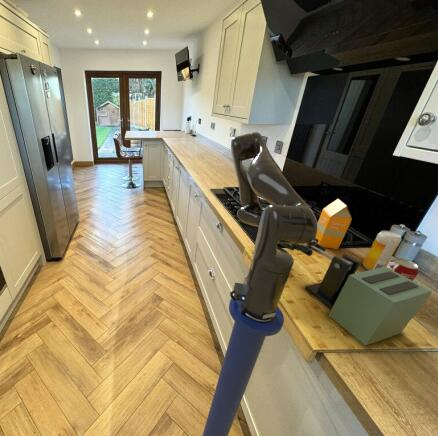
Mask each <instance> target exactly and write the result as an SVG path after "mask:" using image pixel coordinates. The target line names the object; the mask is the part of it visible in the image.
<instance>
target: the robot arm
mask: <svg viewBox="0 0 438 436" xmlns="http://www.w3.org/2000/svg"><path fill="white" fill-rule="evenodd" d="M230 151H231V157H232V162H233V167H234V172H235V176H236V179H237V183H238V191H239V201H240V203H241V204H242V205H244V206H242V207H240V208H238V210H237V212H236V216H237V218H238V220H239V221H241V222H242V223H243V224H246V225H250V226H253V227H256V228H258V230H257V234H256V238H255V241H254V248H253V249H254V250H253V254H252V255H253V256H252V258H251V262H250V266H249V269H248V272H247V275H245V276H244V279H243V282H242V283H239V282H234V285H233V290H231V291H230V292H229V296H230V299H231V298H232V299H233V300H234V301H236V300H239V307H240V312H241V315H244V316H246V317H248V318H249V319H251V320H253V321H255V322H259V323H268V322H270V321H272V319H273V317H274V316H275V314H276V313H275V311H276V308H277V306H278V305H279V303H280V300H281V298H282V295H283V292H284V289H285V288H286V285H287V282H288V280H289V277H290V275H291V274H290V273H291V272H292V269H293V266H294V263H295V260H294V259H295V258H294V257H293V255H292V254H291V253H290V252H289V251H287V250H286V249H288V250H290V251H297V252H298V251H300V252H301V253H303V254H304V255H306V256H307V257H311V256H312V255H313V252H314V251H313V250H311V249H309V248H308V247H306V246H308V245H314V244H317V245H318V247H317V248H318V249H320V250H322V251H324V252H326V250H327V248H326V247H323V246H321V245H319V244H318V241H319V240H318V239H317V238H315V237H316V235H317V230H318V226H317V223H318V220H317V217H316V215H315V213H314V211H313V209H312V208H311V207H310V206H309V205H308V203H307V202H306V201H305V200H304V199H303V198H302V197H301V195H300V194H298V192H296V190H295V189H294V188H293V186H292V185H291V183H290V182H289V180H288V179H287V177H286V176H285V174H284V172H283V170H282V169H281V167H280V166H279V165H278V163H277V162H276V160H275V159H274V157H273V156H272V154H271V153H270V151H269V148H268V147H267V144H266V141H265V139H264V137H263V136H262V134H261V133H260V132H258V131H253V132H248V133H245V134H241V135H237V136H234V137H232V139H231V140H230ZM251 159H252V160H251ZM247 160H251V162H250V164H249V166H248V167H247V170H246V168H245V167H244V165H243V161H247ZM259 197H260V198H261V199H263V200H264V201H266V202H267V203H269V204H268V205H266V206H265V207H264V209H263V207H262V204H261V203H260V200H259ZM278 245H280V246H278ZM281 246H282V247H281ZM283 247H284V248H286V249H284V248H283ZM233 295H235V297H234V296H233ZM278 307H279V306H278Z"/></svg>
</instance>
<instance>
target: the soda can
mask: <svg viewBox="0 0 438 436" xmlns="http://www.w3.org/2000/svg"><path fill="white" fill-rule="evenodd" d="M386 267H387V268H389V269H391V270H393V271H394V272H396V273H398V274H400V275H402V276H404V277H406V278H408V279H410V280H412V281H414V280H415V279H416V278H417V276H418V275H419V270H418V269H419V265H418V264H417V263H415V262H414V261H412V260H409V259H406V258H403V257H394V258H393V259H392V260H389V262H388V263H387V265H386Z"/></svg>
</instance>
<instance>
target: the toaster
mask: <svg viewBox="0 0 438 436" xmlns="http://www.w3.org/2000/svg"><path fill="white" fill-rule="evenodd" d="M432 292H433V291H432V290H431V289H429V288H427V287H425V286H423V285H421V284H419V283H418V282H415V281H414V280H413V281H412V280H410V279H408V278H406V277H404V276H402V275H400V274H398V273H396V272H394V271H393V270H391V269H389V268H387V267H381V268H377V269H373V270H365V271H360V272H355V274H351V275H349V277H348V279H347V281H346V283H345V285H344V287H343V288H342V290H341V292H340V294H339V296H338V298H337V300H336V302H335V304H334V306H333V308H332V309H330V312H329V314H328V317H329V318H331V319H332V320H333V321H335V322H336V323H337V324H338V325H340V326H341V327H342V328H343V329H344V330H346V331H347V332H348V333H349V334H350V335H352V336H353V337H354V338H355V339H356V340H358V341H359V342H360V343H361V344H363V345H364V346H365V347H366V346H369V345H371V344H375V343H377V342H380V341H383V340H385V339H389V338H390V337H393V336H396V335H399V334H402V332H403V331H404V330H405V328H406V327H407V326H408V325H409V323H410V322H411V320H412V319H413V318H414V317H415V315H416V314H417V313H418V311H419V310H420V308H421V307H422V306H423V304H424V303H425V302H426V301H427V299H428V298H429V297H430V295H431V293H432Z"/></svg>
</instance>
